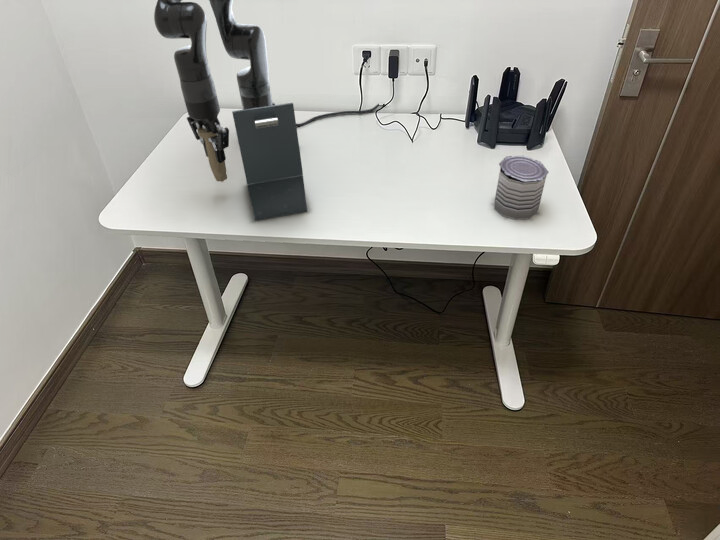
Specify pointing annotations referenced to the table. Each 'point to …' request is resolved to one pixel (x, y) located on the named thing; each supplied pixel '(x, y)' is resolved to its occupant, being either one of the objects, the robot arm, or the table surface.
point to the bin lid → (268, 142)
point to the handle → (213, 156)
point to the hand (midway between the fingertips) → (216, 158)
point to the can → (519, 187)
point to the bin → (277, 197)
